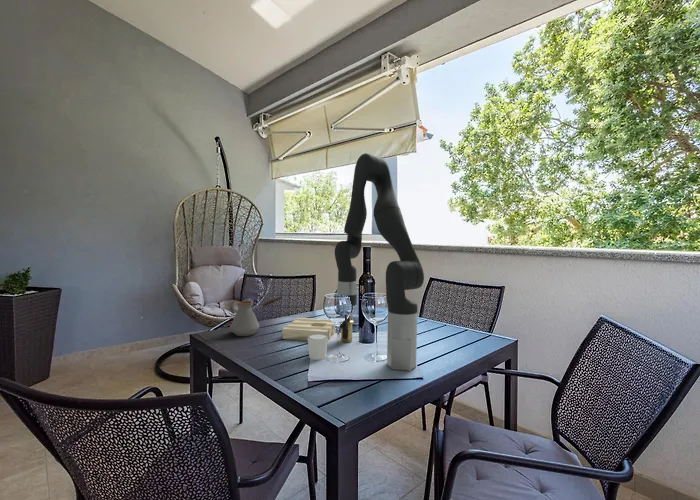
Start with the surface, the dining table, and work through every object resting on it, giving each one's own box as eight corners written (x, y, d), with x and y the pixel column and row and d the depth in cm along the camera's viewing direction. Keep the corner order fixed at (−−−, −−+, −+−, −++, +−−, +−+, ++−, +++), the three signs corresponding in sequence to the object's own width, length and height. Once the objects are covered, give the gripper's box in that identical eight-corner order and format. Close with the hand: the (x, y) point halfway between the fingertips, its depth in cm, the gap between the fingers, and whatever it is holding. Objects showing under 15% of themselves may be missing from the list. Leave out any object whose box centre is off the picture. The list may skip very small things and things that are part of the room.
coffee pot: (227, 338, 137) (227, 300, 136) (232, 330, 148) (232, 295, 147) (283, 336, 140) (283, 299, 140) (283, 328, 152) (284, 294, 151)
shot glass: (309, 361, 113) (309, 340, 113) (305, 354, 120) (306, 334, 120) (329, 359, 115) (329, 338, 115) (325, 352, 122) (325, 332, 121)
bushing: (352, 343, 132) (352, 322, 131) (337, 342, 133) (337, 322, 132) (355, 339, 137) (355, 319, 137) (340, 338, 138) (340, 318, 138)
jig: (326, 342, 133) (327, 331, 133) (282, 338, 137) (282, 328, 137) (337, 329, 151) (337, 320, 151) (298, 326, 155) (298, 317, 154)
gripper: (353, 296, 126) (352, 343, 127) (359, 290, 140) (359, 332, 141) (333, 295, 128) (332, 341, 129) (341, 289, 142) (341, 330, 143)
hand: (346, 336), depth 135 cm, fingers closed on bushing, 4 cm apart
